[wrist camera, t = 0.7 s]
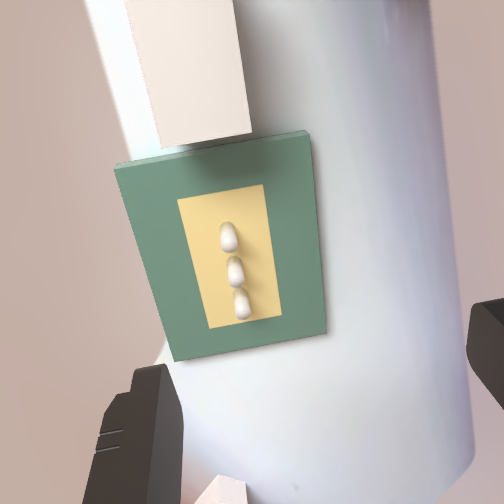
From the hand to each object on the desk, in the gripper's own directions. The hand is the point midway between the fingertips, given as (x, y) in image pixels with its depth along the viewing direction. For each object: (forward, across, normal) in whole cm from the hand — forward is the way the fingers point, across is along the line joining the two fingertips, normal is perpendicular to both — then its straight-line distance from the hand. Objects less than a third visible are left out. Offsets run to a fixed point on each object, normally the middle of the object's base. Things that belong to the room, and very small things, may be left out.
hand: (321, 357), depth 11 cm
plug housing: (+23, +2, -7) cm, 24 cm away
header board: (+22, +2, +9) cm, 24 cm away
